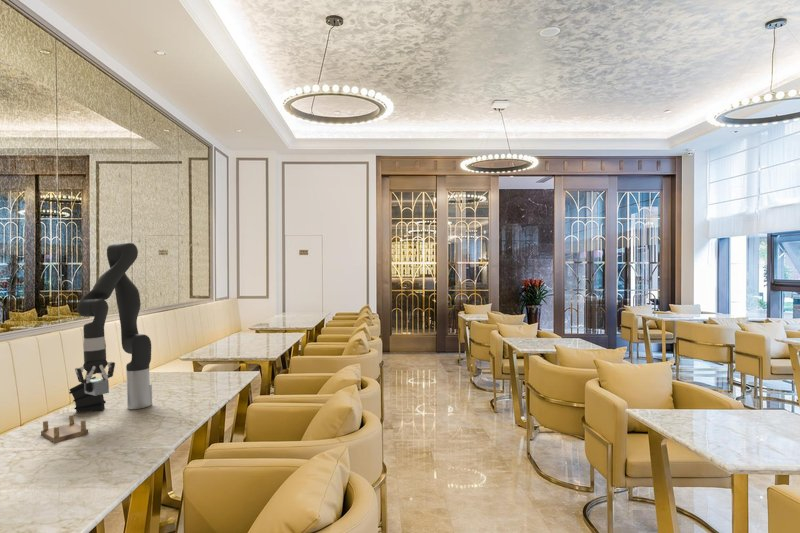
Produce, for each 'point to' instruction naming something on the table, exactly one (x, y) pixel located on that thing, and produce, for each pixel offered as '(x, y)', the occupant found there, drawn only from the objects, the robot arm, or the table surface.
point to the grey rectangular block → (98, 386)
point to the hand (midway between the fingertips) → (96, 390)
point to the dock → (64, 430)
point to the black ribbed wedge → (86, 399)
